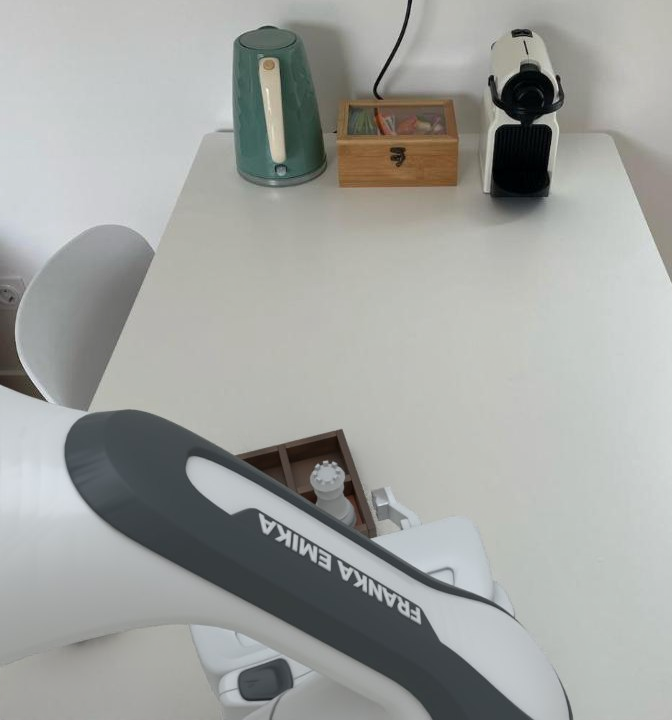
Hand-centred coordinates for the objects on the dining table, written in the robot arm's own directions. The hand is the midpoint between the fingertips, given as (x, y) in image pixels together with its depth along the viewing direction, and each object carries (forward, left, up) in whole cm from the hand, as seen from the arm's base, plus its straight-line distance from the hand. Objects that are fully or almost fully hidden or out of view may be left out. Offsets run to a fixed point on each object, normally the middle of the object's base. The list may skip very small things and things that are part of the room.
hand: (318, 509), depth 59 cm
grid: (-4, +15, -19) cm, 24 cm away
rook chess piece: (+2, +12, -18) cm, 22 cm away
